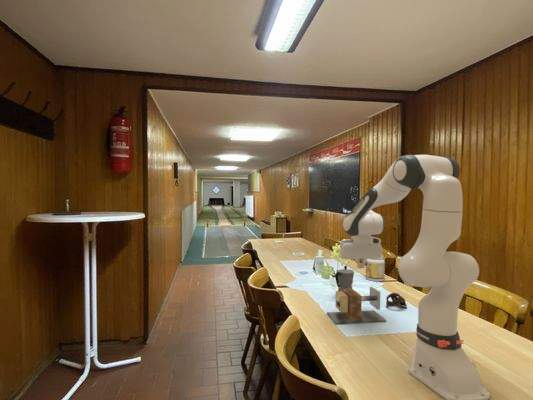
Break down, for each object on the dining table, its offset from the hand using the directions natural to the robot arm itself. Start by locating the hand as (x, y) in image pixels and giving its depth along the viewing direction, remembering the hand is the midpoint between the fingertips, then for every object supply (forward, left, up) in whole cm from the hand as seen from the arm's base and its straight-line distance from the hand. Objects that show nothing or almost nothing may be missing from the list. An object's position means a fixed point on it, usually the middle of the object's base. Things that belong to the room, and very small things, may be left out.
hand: (360, 267), depth 146 cm
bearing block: (-3, +3, -23) cm, 23 cm away
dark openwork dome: (+9, -23, -23) cm, 34 cm away
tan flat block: (-3, +10, -15) cm, 18 cm away
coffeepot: (+24, -2, -23) cm, 33 cm away
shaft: (-3, +3, -18) cm, 18 cm away
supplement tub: (+59, -38, -23) cm, 74 cm away
